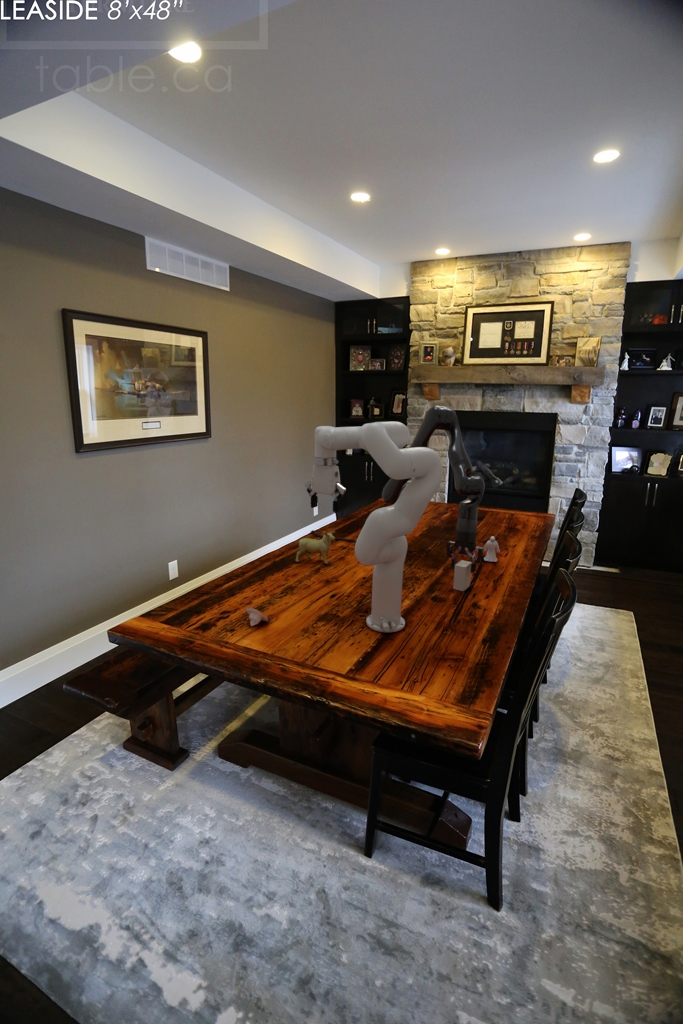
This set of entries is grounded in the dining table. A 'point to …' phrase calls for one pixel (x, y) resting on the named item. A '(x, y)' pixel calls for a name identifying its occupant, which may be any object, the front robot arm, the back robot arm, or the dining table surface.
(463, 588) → the brick
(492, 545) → the figurine
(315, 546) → the toy
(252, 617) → the seashell
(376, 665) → the dining table surface
